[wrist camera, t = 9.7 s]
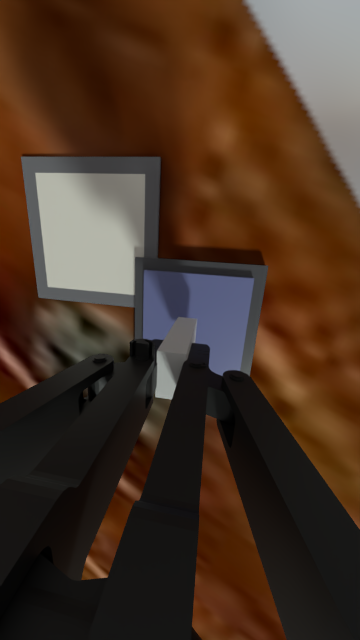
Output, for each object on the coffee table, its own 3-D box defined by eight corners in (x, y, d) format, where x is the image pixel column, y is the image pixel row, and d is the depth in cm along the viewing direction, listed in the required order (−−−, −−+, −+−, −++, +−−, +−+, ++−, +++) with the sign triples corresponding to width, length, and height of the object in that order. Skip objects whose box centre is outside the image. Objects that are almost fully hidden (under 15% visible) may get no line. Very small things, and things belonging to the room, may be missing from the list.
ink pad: (138, 365, 23) (132, 373, 22) (139, 256, 20) (132, 257, 19) (246, 380, 22) (248, 390, 20) (265, 265, 19) (269, 266, 17)
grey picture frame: (40, 297, 23) (38, 297, 23) (23, 158, 20) (21, 156, 19) (156, 308, 21) (155, 309, 21) (161, 158, 18) (160, 156, 18)
